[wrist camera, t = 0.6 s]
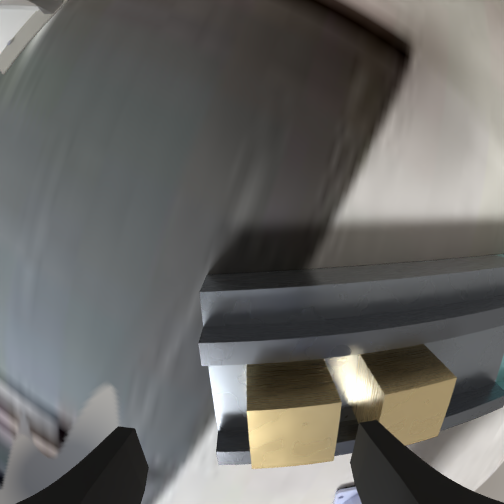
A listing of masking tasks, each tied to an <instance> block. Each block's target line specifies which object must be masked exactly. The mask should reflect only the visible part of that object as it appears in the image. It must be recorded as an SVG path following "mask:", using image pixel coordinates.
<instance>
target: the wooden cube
mask: <svg viewBox="0 0 504 504" xmlns="http://www.w3.org/2000/svg"><path fill="white" fill-rule="evenodd" d="M341 405H342V401H341V399H340V397H339V394H338V392H337V389H336V387H335V384H334V382H333V380H332V377H331V375H330V372H329V370H328V367H327V365H326V363H325V360H324V359H315V360H305V361H293V362H280V363H265V364H247V421H248V432H249V443H250V454H251V465H252V469H258V468H274V467H287V466H297V465H306V464H315V463H322V462H329V461H333V460H334V454H335V448H336V442H337V435H338V428H339V421H340V413H341Z"/></svg>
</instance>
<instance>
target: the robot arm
mask: <svg viewBox="0 0 504 504" xmlns="http://www.w3.org/2000/svg"><path fill="white" fill-rule="evenodd" d="M350 464H351V468H352V473H353V478H354V482H355V487H350V488H345V489H340V490H338V491H337V492H336V494H335V498H334V503H333V504H504V503H503V502H500V501H497V500H494V499H491V498H488V497H486V496H483V495H481V494H478V493H476V492H474V491H471V490H469V489H467V488H465V487H463V486H461V485H460V484H458V483H456V482H454V481H452V480H451V479H449V478H447V477H446V476H444V475H442V474H441V473H440V472H438V471H437V470H435V469H434V468H432V467H431V466H430V465H428V464H427V463H426V462H424V461H423V460H422V459H421V458H419V457H418V456H417V455H416V454H414V453H413V452H412V451H411V450H410V449H408V448H407V447H406V446H405V445H404V444H403V443H401V442H400V441H399V440H398V439H397V438H396V437H395V436H394V435H393V434H392V433H390V432H389V431H388V430H387V429H386V428H385V427H384V426H383V425H382V424H381V423H380V422H378V421H377V420H373V421H367V422H362V423H359V426H358V431H357V435H356V440H355V444H354V449H353V453H352V457H351V461H350ZM147 473H148V464H147V462H146V459H145V456H144V453H143V451H142V448H141V445H140V442H139V439H138V436H137V433H136V430H135V428H126V427H119V426H118V427H117V428H116V429H115V430H114V431H113V432H112V433H111V434H110V435H109V436H108V437H106V438H105V439H104V440H103V441H102V442H101V443H100V444H99V445H98V446H97V447H96V448H95V449H94V450H93V451H92V452H91V453H89V454H88V455H87V456H86V457H85V458H84V459H83V460H82V461H80V462H79V463H78V464H77V465H76V466H75V467H73V468H72V469H71V470H70V471H69V472H67V473H66V474H65V475H63V476H62V477H61V478H59V479H58V480H57V481H55V482H54V483H52V484H51V485H49V486H48V487H47V488H45V489H43V490H42V491H40V492H38V493H37V494H35V495H33V496H31V497H29V498H27V499H25V500H23V501H20V502H18V503H17V504H141V501H142V497H143V494H144V491H145V485H146V480H147Z"/></svg>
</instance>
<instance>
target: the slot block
mask: <svg viewBox="0 0 504 504" xmlns="http://www.w3.org/2000/svg"><path fill="white" fill-rule="evenodd" d="M200 300H201V309H202V318H203V330H202V333H201V337H200V340H199V350H200V357H201V364H202V366H209V373H210V380H211V387H212V394H213V401H214V408H215V414H216V420H217V427H218V439H217V449H216V454H217V459H218V464H219V465H236V464H251V454H250V443H249V432H248V421H247V364H265V363H280V362H293V361H305V360H315V359H324V360H325V363H326V365H327V367H328V370H329V372H330V375H331V377H332V380H333V382H334V384H335V387H336V389H337V392H338V394H339V397H340V399H341V401H342V405H341V413H340V421H339V428H338V435H337V442H336V448H335V454H334V456H337V455H344V454H349V453H353V449H354V444H355V440H356V435H357V431H358V426H359V424H358V421H357V419H356V417H355V414H354V412H353V410H352V405H353V398H354V391H355V383H356V375H357V366H358V357H359V354H365V353H372V352H379V351H385V350H391V349H397V348H403V347H409V346H415V345H420V344H424V345H425V346H426V347H427V348H428V349H429V350H430V351H431V352H432V353H433V354H434V355H435V356H436V357H437V358H438V359H439V360H440V361H441V362H442V363H443V364H444V365H445V366H446V367H447V368H448V369H449V370H450V371H451V372H452V373H453V374H454V375H455V376H456V377H457V379H456V383H455V386H454V390H453V393H452V396H451V399H450V403H449V406H448V409H447V412H446V415H445V417H444V420H443V423H442V426H441V429H440V431H441V430H445V429H448V428H450V427H453V426H456V425H459V424H462V423H465V422H467V421H470V420H473V419H475V418H478V417H480V416H483V415H485V414H488V413H490V412H492V411H495V410H497V409H499V408H502V407H503V405H504V390H503V389H502V388H501V387H500V386H499V385H498V384H497V383H496V382H495V381H496V378H497V375H498V372H499V369H500V366H501V362H502V359H503V355H504V258H503V257H501V256H498V255H487V256H476V257H465V258H453V259H442V260H429V261H417V262H404V263H391V264H378V265H364V266H350V267H335V268H320V269H304V270H288V271H271V272H253V273H234V274H214V275H207V276H206V278H205V281H204V283H203V285H202V288H201V290H200Z"/></svg>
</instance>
